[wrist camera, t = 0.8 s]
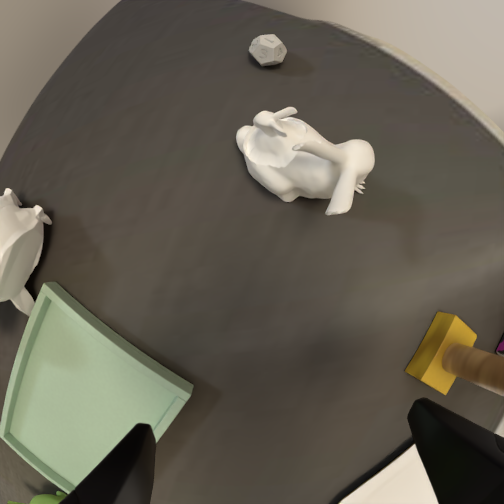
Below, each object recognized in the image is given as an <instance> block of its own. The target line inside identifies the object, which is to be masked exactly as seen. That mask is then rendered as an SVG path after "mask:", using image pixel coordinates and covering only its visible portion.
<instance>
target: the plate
mask: <svg viewBox="0 0 504 504" xmlns="http://www.w3.org/2000/svg"><path fill="white" fill-rule="evenodd" d="M338 504H438V501H437V498H436V496H435V493H434V491H433V488H432V486H431V483H430V481H429V478H428V476H427V473H426V471H425V468H424V466H423V463H422V461H421V459H420V456H419V454H418V451H417V448H416V445H415V443H414V444H412V445H411V446H410V447H409V448H408V449H406V450H405V451H404V452H403V453H402V454H400V455H399V456H398V457H397V458H396V459H394V460H393V461H392V462H390V463H389V464H388V465H387V466H385V467H384V468H383V469H382V470H380V471H379V472H378V473H376V474H375V475H374V476H372V477H371V478H369V479H368V480H367V481H365V482H364V483H363V484H361V485H360V486H359V487H358V488H356V489H355V490H354V491H352V492H351V493H350V494H348V495H347V496H346V497H344V498H343V499H341V501H340V502H339V503H338Z"/></svg>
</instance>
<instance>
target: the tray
mask: <svg viewBox="0 0 504 504" xmlns="http://www.w3.org/2000/svg"><path fill="white" fill-rule="evenodd" d="M193 386H194V385H193V384H191V383H189V382H188V381H186V380H184V379H183V378H181V377H180V376H178V375H176V374H175V373H173V372H172V371H170V370H168V369H167V368H165V367H164V366H162V365H161V364H159V363H158V362H156V361H155V360H153V359H152V358H150V357H149V356H147V355H146V354H145V353H143V352H142V351H140V350H139V349H137V348H136V347H135V346H133V345H132V344H130V343H129V342H128V341H126V340H125V339H124V338H122V337H121V336H120V335H118V334H117V333H116V332H114V331H113V330H112V329H110V328H109V327H108V326H107V325H105V324H104V323H103V322H102V321H100V320H99V319H98V318H97V317H95V316H94V315H93V314H92V313H91V312H89V311H88V310H87V309H86V308H85V307H83V306H82V305H81V304H80V303H79V302H78V301H76V300H75V299H74V298H73V297H72V296H71V295H70V294H69V293H67V292H66V291H65V290H64V289H63V288H62V287H61V286H60V285H59V284H58V283H57V282H47V283H43V286H42V288H41V291H40V293H39V295H38V297H37V300H36V302H35V305H34V307H33V310H32V312H31V315H30V317H29V320H28V323H27V325H26V328H25V331H24V334H23V337H22V340H21V343H20V346H19V349H18V352H17V355H16V359H15V362H14V366H13V369H12V373H11V377H10V381H9V385H8V389H7V393H6V398H5V403H4V408H3V413H2V419H1V425H0V437H1V438H2V439H3V440H4V441H5V442H6V443H7V444H8V445H9V446H10V447H11V448H12V449H13V450H14V451H15V452H16V453H17V454H18V455H20V456H21V457H22V458H23V459H24V460H25V461H26V462H27V463H29V464H30V465H31V466H32V467H33V468H35V469H36V470H37V471H38V472H39V473H41V474H42V475H43V476H44V477H46V478H47V479H48V480H50V481H51V482H52V483H54V484H55V485H56V486H58V487H59V488H60V489H62V490H63V491H65V492H66V493H68V494H69V493H70V492H71V491H72V490H73V489H74V490H75V487H76V486H77V485H78V484H79V483H80V482H81V481H82V480H83V479H84V478H85V477H86V476H87V475H88V474H89V473H90V472H91V471H92V470H93V469H94V468H95V467H96V466H97V465H98V464H99V463H100V462H101V461H102V460H103V459H104V458H105V457H106V455H107V454H108V453H109V452H110V451H111V450H112V449H113V448H114V447H115V446H116V445H117V444H118V443H119V442H120V441H121V440H122V439H123V438H124V436H125V435H126V434H127V433H128V432H129V431H130V430H131V429H132V428H133V427H134V426H135V425H136V424H137V423H146V424H150V425H151V427H152V430H153V433H154V436H155V439H156V443H157V442H158V440H159V439H160V438H161V436H162V435H163V434H164V432H165V431H166V430H167V428H168V427H169V425H170V424H171V423H172V421H173V420H174V419H175V417H176V416H177V414H178V413H179V412H180V410H181V409H182V407H183V406H184V405H185V403H186V401H187V400H188V399H189V398H190V396H191V394H192V390H193Z"/></svg>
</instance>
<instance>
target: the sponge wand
mask: <svg viewBox="0 0 504 504" xmlns="http://www.w3.org/2000/svg"><path fill="white" fill-rule="evenodd" d="M476 338H477V335H476V334H475V333H474V332H473V331H472V330H471V329H470V328H469V327H468V326H467V325H466V324H465V323H464V322H463V321H462V320H460V319H459V318H458V317H457V316H456V315H453V314H448V313H442V312H437V314H436V316H435V318H434V320H433V322H432V324H431V326H430V328H429V330H428V331H427V333H426V335H425V337H424V339H423V341H422V342H421V344H420V346H419V348H418V350H417V351H416V353H415V355H414V356H413V358H412V360H411V361H410V363H409V365H408V366H407V368H406V370H405V372H407V373H408V374H410V375H412V376H413V377H415V378H417V379H418V380H420V381H421V382H423V383H425V384H426V385H428V386H430V387H432V388H433V389H435V390H437V391H439V392H441V393H442V394H444V395H446V394H447V392H448V390H449V389H450V387H451V385H452V384H453V382H454V380H455V378H456V377H457V376H458V377H460V378H462V379H464V380H467V381H469V382H471V383H473V384H476V385H478V386H480V387H483V388H485V389H487V390H490V391H492V392H494V393H497V394H499V395H501V396H504V357H503V356H500V355H496V354H493V353H489V352H486V351H483V350H479V349H476V348H473V347H472V346H473V344H474V342H475V340H476Z"/></svg>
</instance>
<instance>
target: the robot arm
mask: <svg viewBox="0 0 504 504" xmlns="http://www.w3.org/2000/svg"><path fill="white" fill-rule="evenodd" d="M407 419H408V423H409V426H410V429H411V432H412V435H413V439H414V442H415V445H416V448H417V451H418V454H419V456H420V459H421V461H422V463H423V466H424V468H425V471H426V473H427V476H428V478H429V481H430V483H431V486H432V488H433V491H434V493H435V496H436V498H437V501H438V504H504V438H503V437H501V436H499V435H497V434H494V433H493V432H491V431H489V430H487V429H485V428H483V427H481V426H479V425H477V424H475V423H473V422H471V421H469V420H467V419H465V418H463V417H461V416H460V415H458V414H456V413H454V412H452V411H450V410H448V409H446V408H444V407H442V406H441V405H439V404H437V403H435V402H433V401H431V400H429V399H428V398H420V399H417V400H415V402H414V403H413V405H412V407H411V409H410V411H409V413H408V417H407ZM155 450H156V439H155V436H154V433H153V430H152V427H151V425H150V424H146V423H137V424H136V425H135V426H134V427H133V428H132V429H131V430H130V431H129V432H128V433H127V434H126V435H125V436H124V438H123V439H122V440H121V441H120V442H119V443H118V444H117V445H116V446H115V447H114V448H113V449H112V450H111V451H110V452H109V453H108V454H107V455H106V457H105V458H104V459H103V460H102V461H101V462H100V463H99V464H98V465H97V466H96V467H95V468H94V469H93V470H92V471H91V472H90V473H89V474H88V475H87V476H86V477H85V478H84V479H83V480H82V481H81V482H80V483H79V484H78V485H77V486H76V487H75V490H74V489H73V490H72V491H71V492H70V493H69V494H68V495H67V496H66V497H65V498H64V499H63V500H62V501H61V502H59V503H58V504H150V500H151V494H152V489H153V482H154V466H155Z"/></svg>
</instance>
